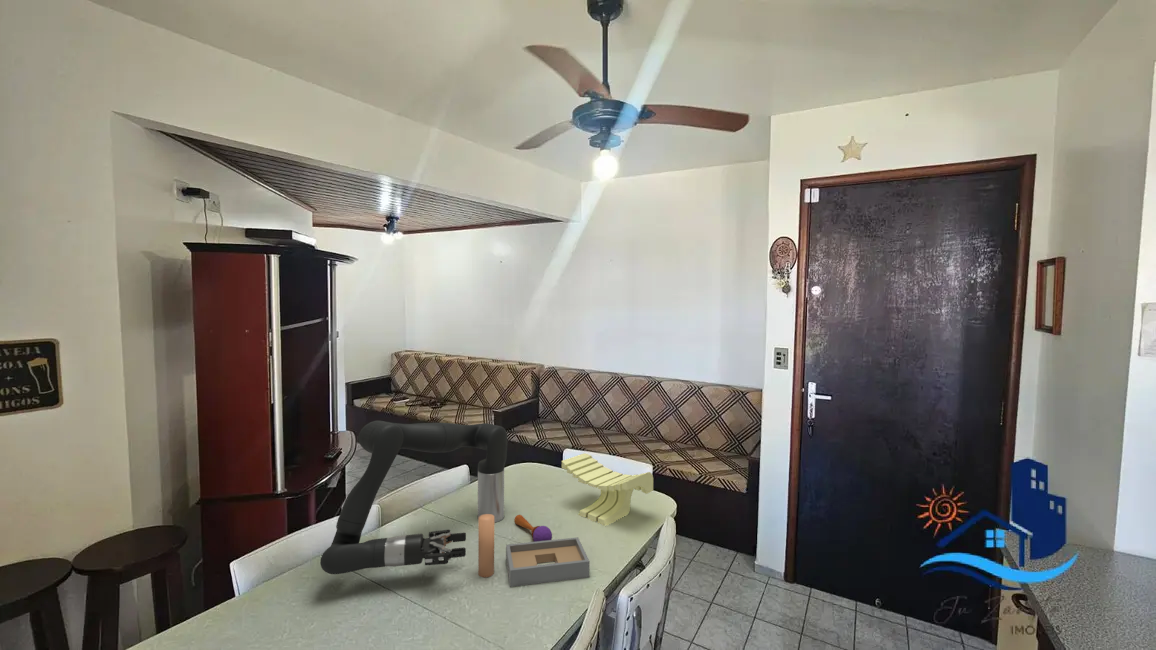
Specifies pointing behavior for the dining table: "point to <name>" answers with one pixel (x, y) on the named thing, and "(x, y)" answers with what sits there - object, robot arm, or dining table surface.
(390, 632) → the dining table surface
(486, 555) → the peg
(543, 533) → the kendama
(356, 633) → the dining table surface
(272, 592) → the dining table surface
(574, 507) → the dining table surface
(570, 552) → the peg box
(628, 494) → the slatted curved stool
